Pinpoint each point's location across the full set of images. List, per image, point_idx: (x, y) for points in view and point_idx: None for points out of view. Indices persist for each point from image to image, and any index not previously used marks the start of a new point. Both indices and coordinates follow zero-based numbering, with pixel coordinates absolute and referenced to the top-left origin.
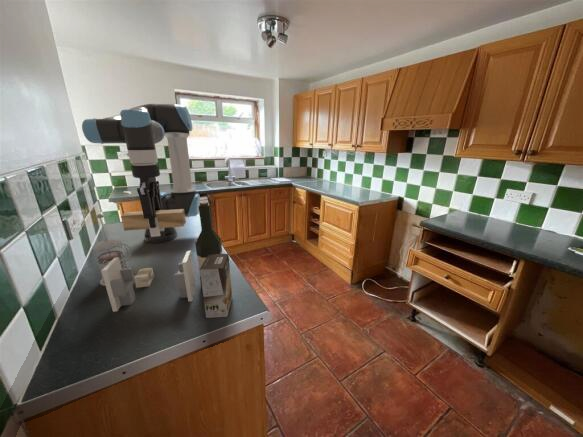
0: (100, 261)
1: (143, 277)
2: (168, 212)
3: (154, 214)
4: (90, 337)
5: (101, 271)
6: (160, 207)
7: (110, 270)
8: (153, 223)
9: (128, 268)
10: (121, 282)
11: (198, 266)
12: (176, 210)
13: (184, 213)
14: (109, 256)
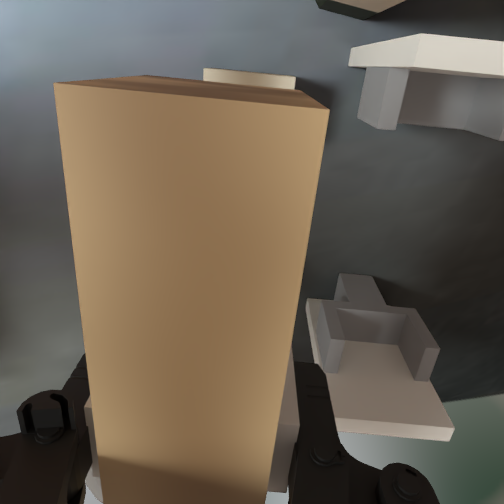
0: None
1: None
2: (252, 338)
3: (336, 481)
4: (482, 335)
5: None
6: (13, 470)
7: (416, 410)
8: (330, 405)
9: (333, 349)
10: (436, 345)
11: (400, 2)
12: (150, 228)
13: (102, 80)
14: None
